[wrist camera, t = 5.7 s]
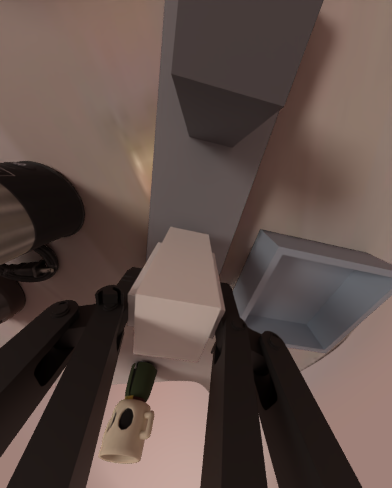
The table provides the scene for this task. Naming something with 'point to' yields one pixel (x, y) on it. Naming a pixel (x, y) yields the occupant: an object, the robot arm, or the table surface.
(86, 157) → the table surface
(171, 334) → the block
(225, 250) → the power strip
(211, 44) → the block
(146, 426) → the character mug
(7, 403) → the robot arm
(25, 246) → the milk frother
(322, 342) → the bin
